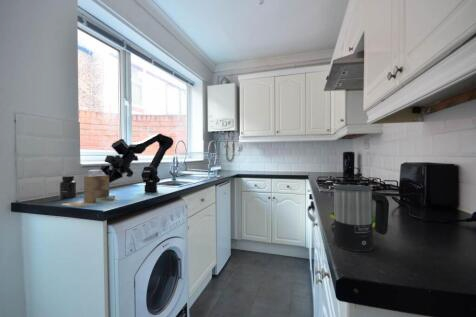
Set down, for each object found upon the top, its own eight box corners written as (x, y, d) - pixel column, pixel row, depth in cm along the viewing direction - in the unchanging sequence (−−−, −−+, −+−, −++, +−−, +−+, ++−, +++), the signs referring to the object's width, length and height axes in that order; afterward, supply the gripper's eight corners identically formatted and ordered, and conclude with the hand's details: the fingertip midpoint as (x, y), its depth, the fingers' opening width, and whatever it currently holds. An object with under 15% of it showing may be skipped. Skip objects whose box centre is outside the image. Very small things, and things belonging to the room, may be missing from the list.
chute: (102, 199, 115) (102, 193, 115) (121, 201, 109) (121, 195, 109) (60, 206, 98) (60, 199, 98) (80, 209, 92) (80, 202, 92)
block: (101, 198, 110) (101, 174, 110) (109, 199, 108) (109, 175, 107) (84, 201, 103) (84, 176, 103) (92, 203, 100) (92, 176, 100)
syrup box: (105, 194, 129) (104, 169, 129) (97, 196, 123) (97, 170, 123) (95, 194, 130) (95, 169, 130) (88, 195, 124) (87, 170, 124)
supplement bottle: (59, 201, 109) (59, 177, 109) (59, 199, 114) (59, 176, 114) (76, 199, 114) (76, 176, 114) (75, 197, 119) (75, 175, 119)
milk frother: (355, 255, 50) (355, 190, 50) (307, 233, 65) (307, 182, 64) (395, 245, 56) (395, 186, 56) (343, 227, 70) (343, 180, 70)
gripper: (103, 150, 118) (81, 172, 108) (128, 149, 110) (107, 173, 100) (117, 164, 125) (97, 186, 115) (141, 165, 117) (122, 188, 107)
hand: (105, 183), depth 109 cm, fingers closed
